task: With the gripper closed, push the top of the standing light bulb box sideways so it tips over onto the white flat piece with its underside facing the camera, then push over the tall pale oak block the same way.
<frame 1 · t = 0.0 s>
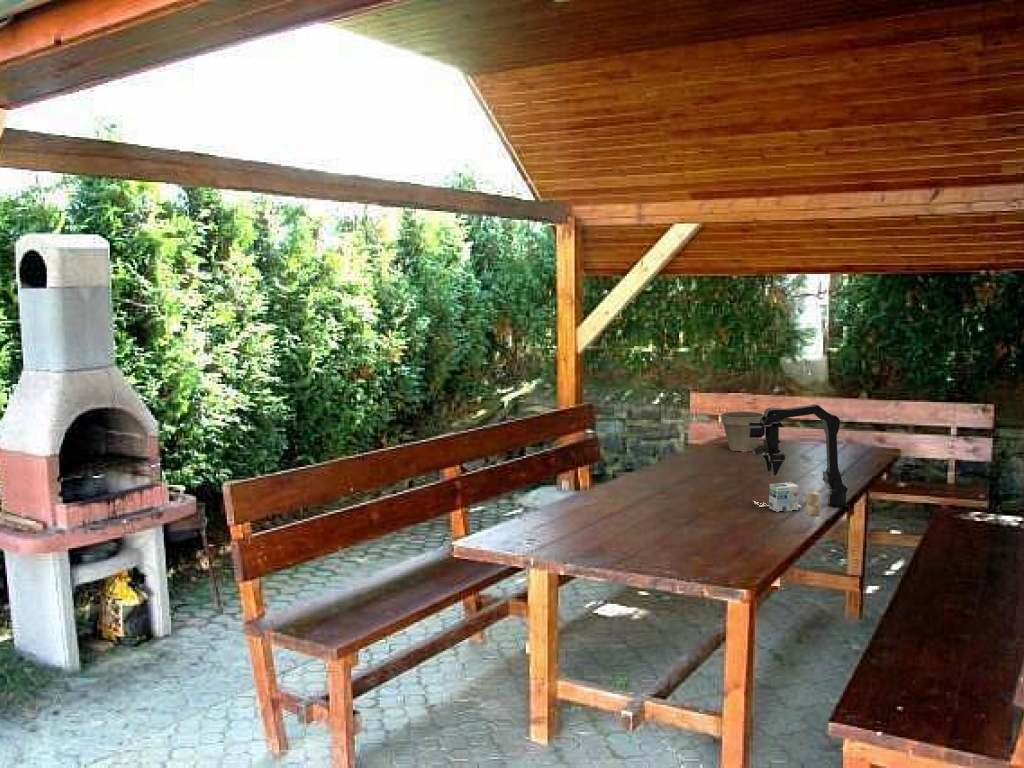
hand: (771, 473, 389), 15 cm above the table, tool pointing down, fingers open, 9 cm apart
light bulb box: (783, 509, 385), on the table, touching white flat piece
oak block: (812, 514, 375), on the table
plant pot: (742, 450, 535), on the table
white flat piece: (777, 504, 394), on the table
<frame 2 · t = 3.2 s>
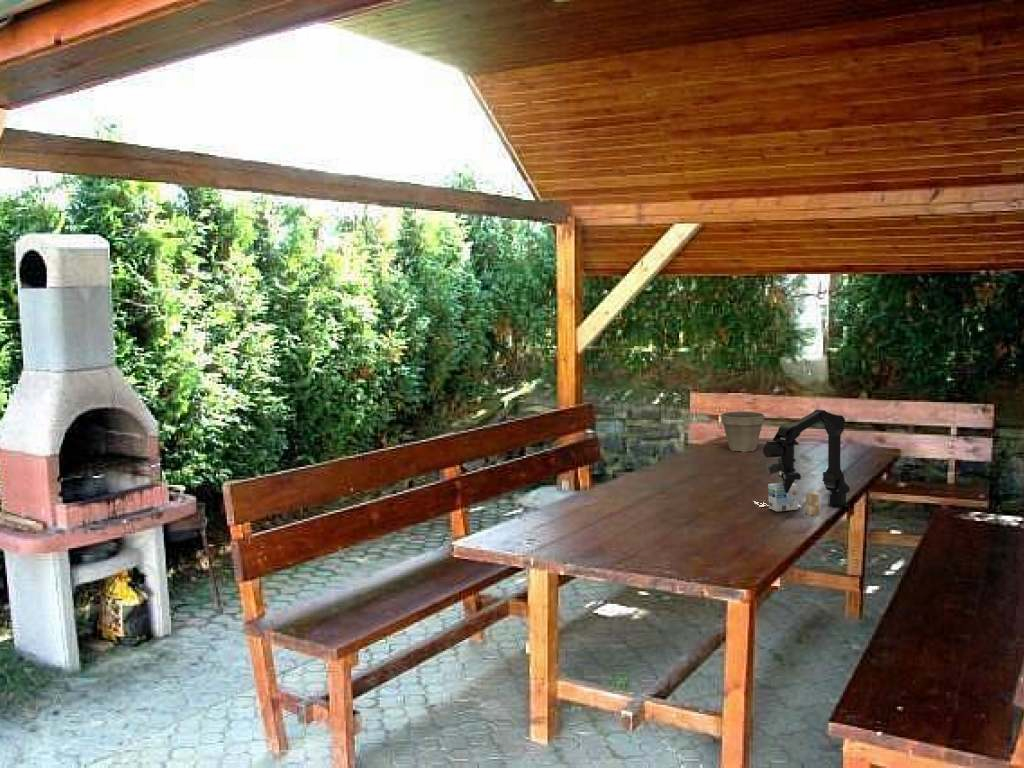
hand: (786, 492, 379), 8 cm above the table, tool pointing down, fingers closed
light bulb box: (783, 509, 385), on the table, touching white flat piece, gripper
everything else where it was.
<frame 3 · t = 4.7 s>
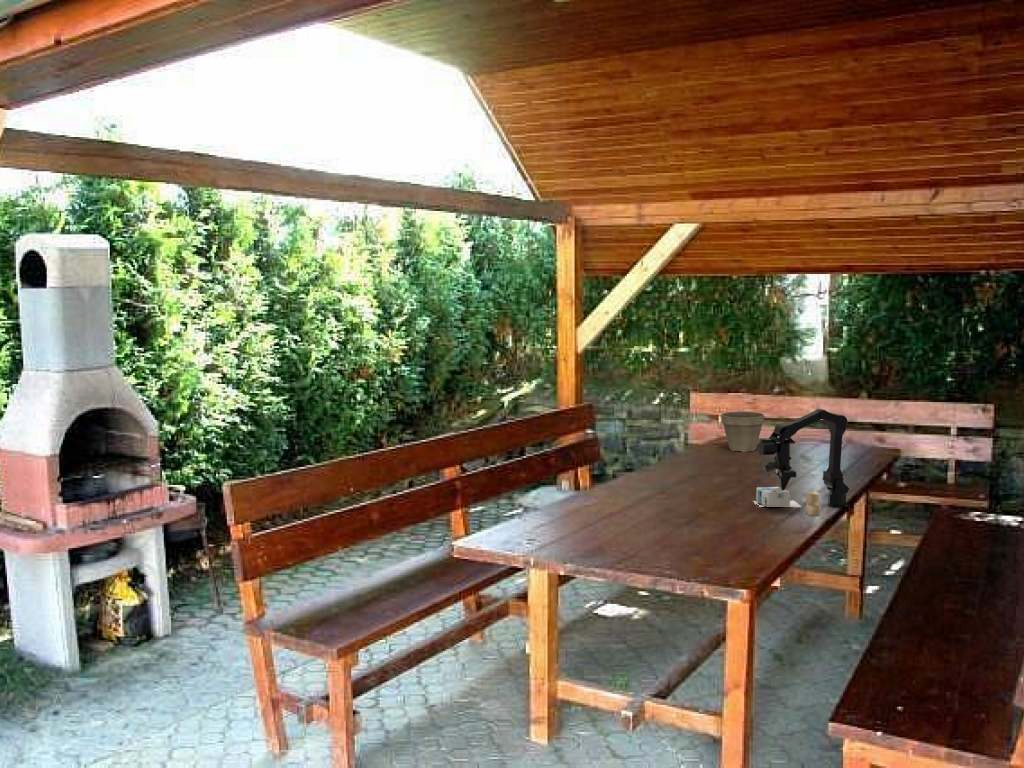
hand: (782, 490, 385), 8 cm above the table, tool pointing down, fingers closed
light bulb box: (780, 499, 387), point 4 cm above the table, touching white flat piece
everything else where it was.
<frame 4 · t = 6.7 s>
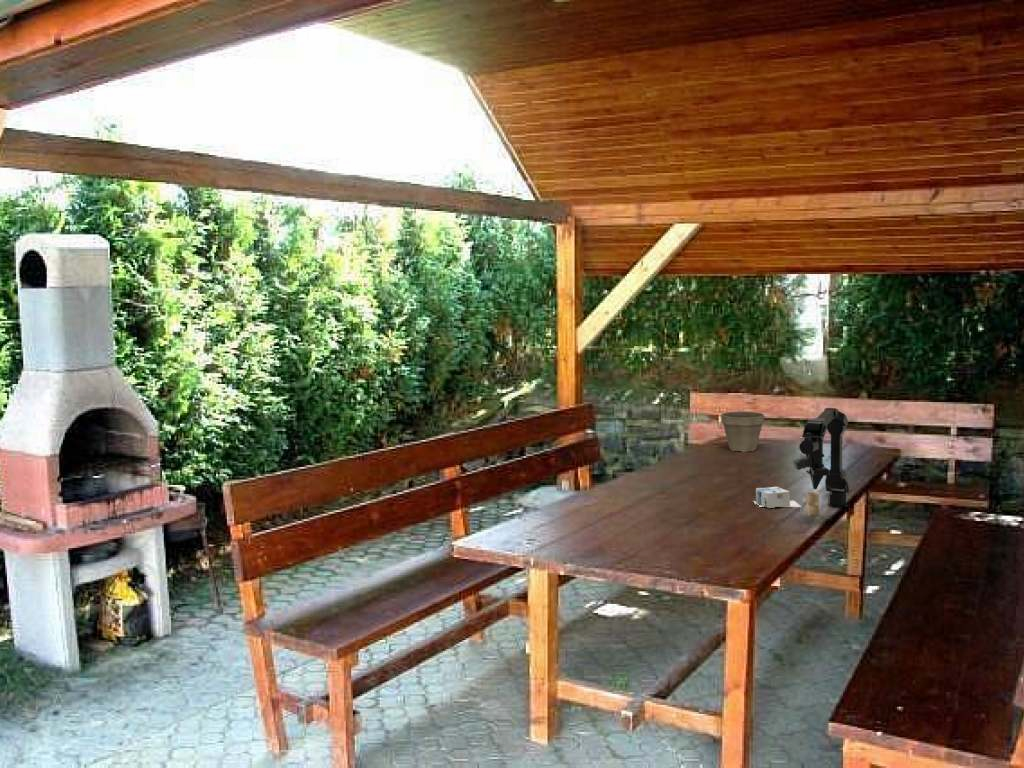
hand: (814, 489, 367), 12 cm above the table, tool pointing down, fingers closed
nothing on the table moved.
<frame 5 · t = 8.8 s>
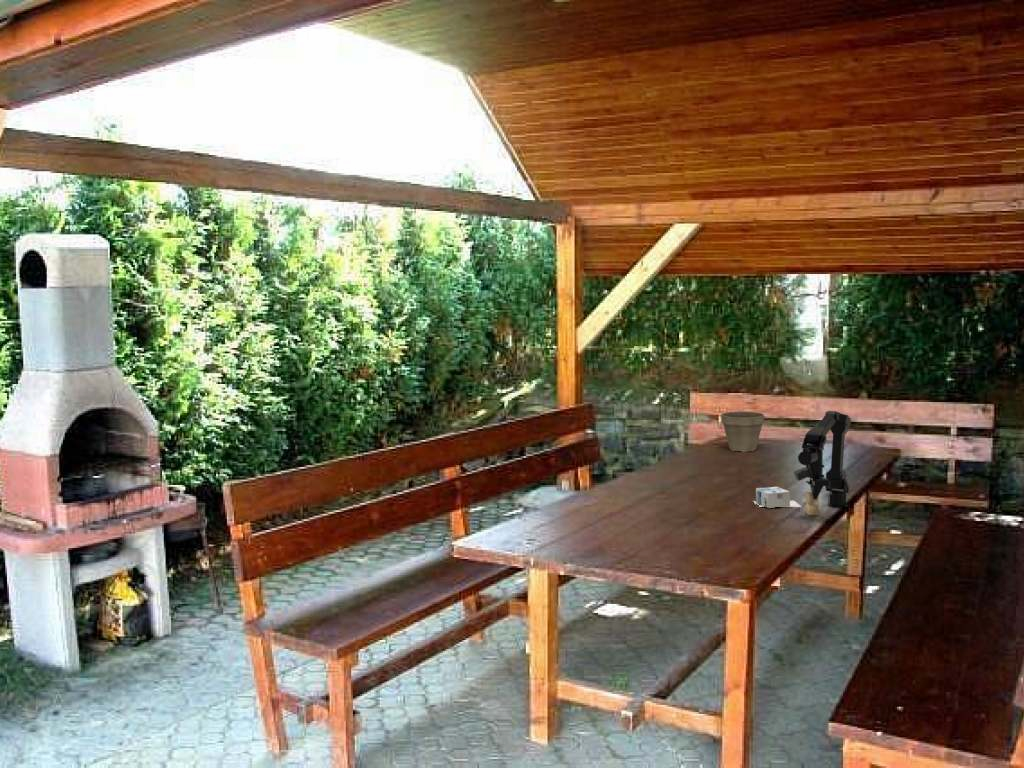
hand: (815, 499, 372), 7 cm above the table, tool pointing down, fingers closed
oak block: (812, 514, 375), on the table, touching gripper
everything else where it was.
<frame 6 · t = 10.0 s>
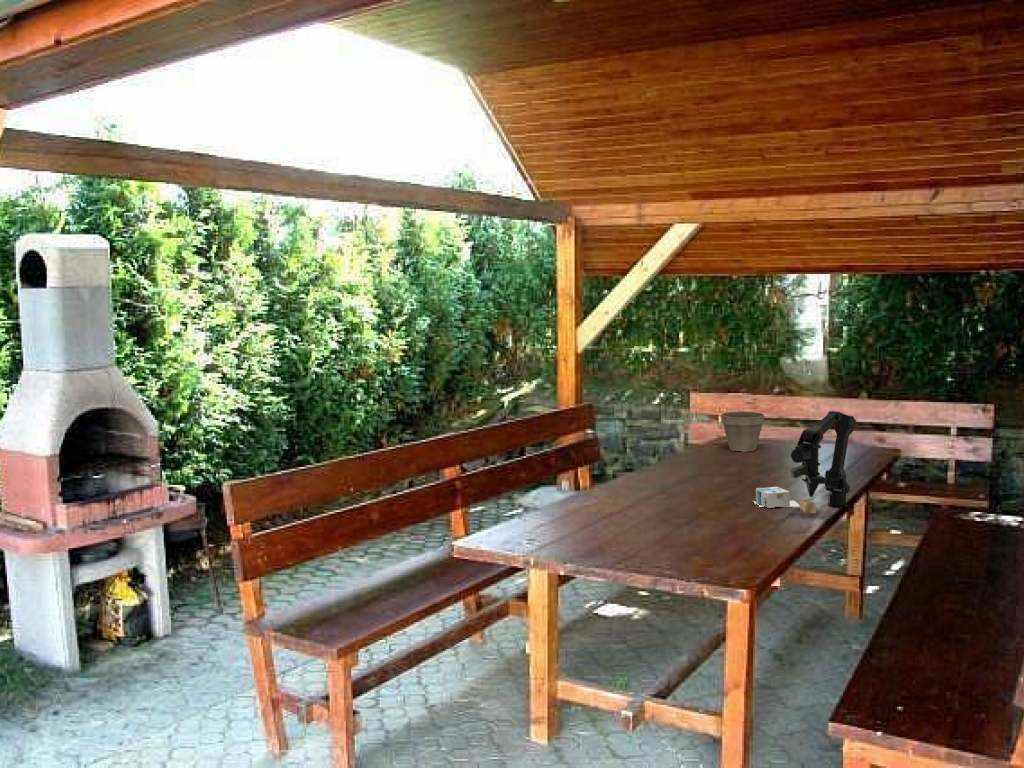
hand: (810, 496, 377), 7 cm above the table, tool pointing down, fingers closed
oak block: (810, 509, 377), point 2 cm above the table, tilted 90°
everything else where it was.
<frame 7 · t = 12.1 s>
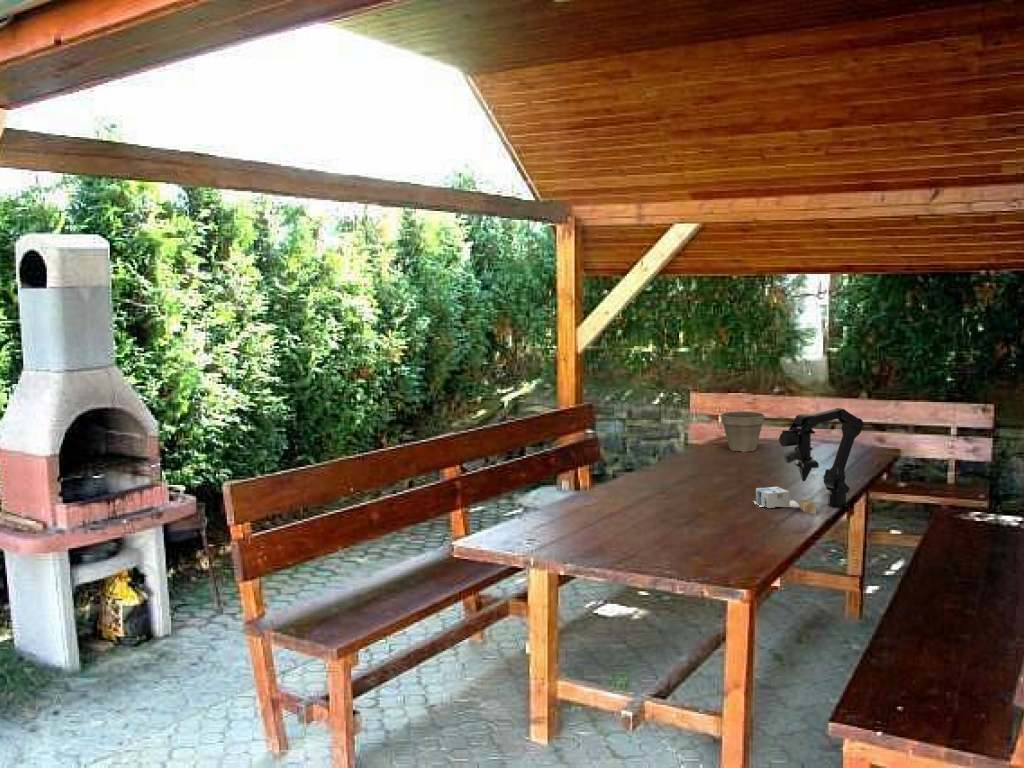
hand: (803, 481, 384), 12 cm above the table, tool pointing down, fingers closed
nothing on the table moved.
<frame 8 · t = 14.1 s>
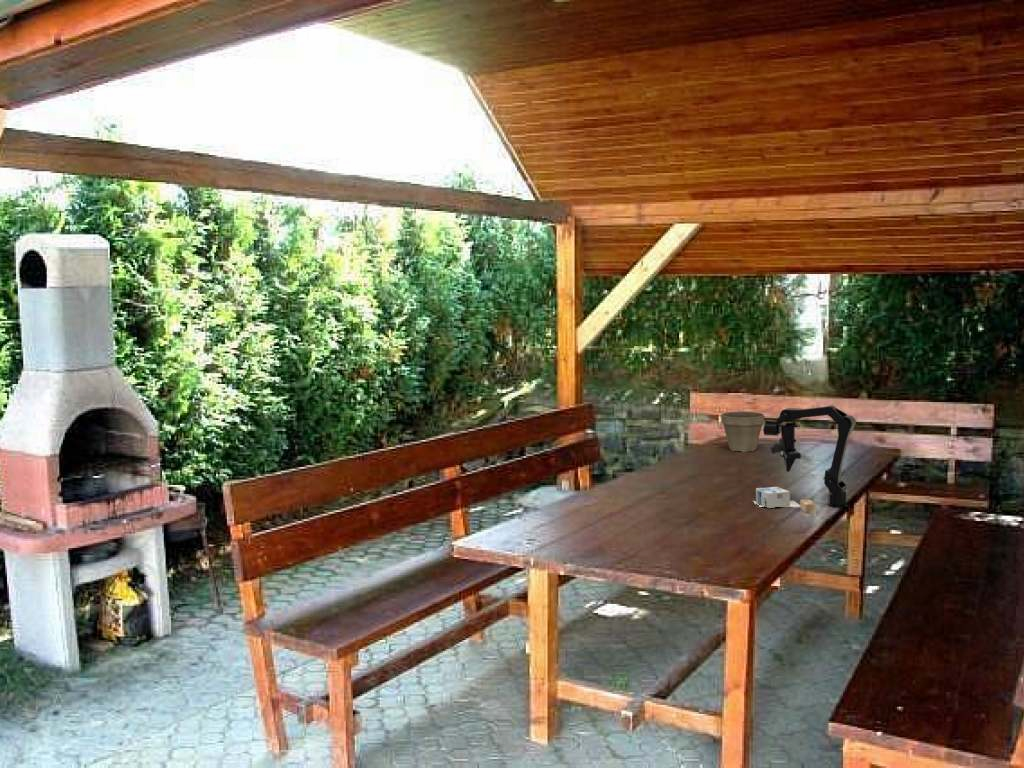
hand: (787, 471, 401), 13 cm above the table, tool pointing down, fingers closed
nothing on the table moved.
at the end: light bulb box tilted 89°; light bulb box inside the target area (2.8 cm from its centre), point 3.6 cm above the table; oak block tilted 90° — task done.
